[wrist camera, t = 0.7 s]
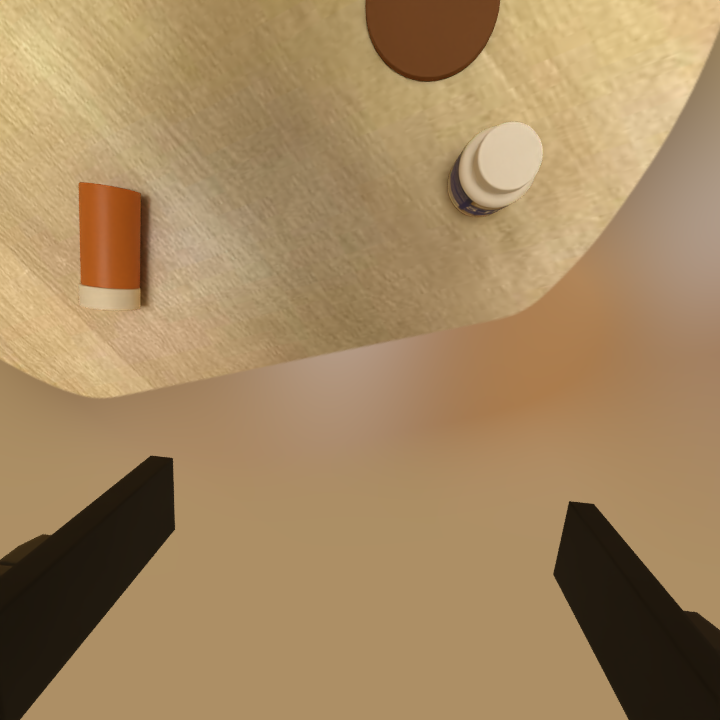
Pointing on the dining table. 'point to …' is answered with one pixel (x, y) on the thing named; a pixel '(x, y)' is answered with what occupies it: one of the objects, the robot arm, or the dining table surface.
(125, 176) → the dining table surface
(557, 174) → the dining table surface
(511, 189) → the pill bottle
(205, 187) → the dining table surface
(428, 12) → the coaster
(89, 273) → the vial
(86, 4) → the dining table surface
